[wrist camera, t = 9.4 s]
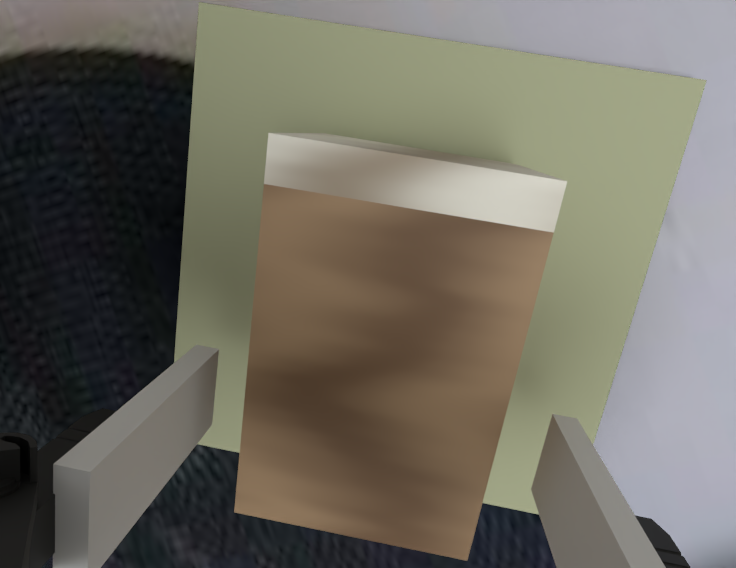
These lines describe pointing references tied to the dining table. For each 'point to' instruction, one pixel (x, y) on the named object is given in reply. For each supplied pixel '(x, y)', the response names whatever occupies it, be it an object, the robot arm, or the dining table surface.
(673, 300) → the dining table surface
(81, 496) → the robot arm
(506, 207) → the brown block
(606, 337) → the olive mat
